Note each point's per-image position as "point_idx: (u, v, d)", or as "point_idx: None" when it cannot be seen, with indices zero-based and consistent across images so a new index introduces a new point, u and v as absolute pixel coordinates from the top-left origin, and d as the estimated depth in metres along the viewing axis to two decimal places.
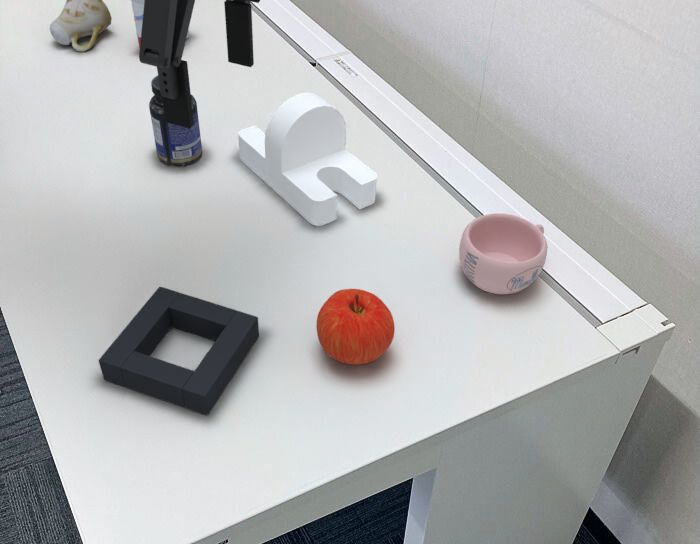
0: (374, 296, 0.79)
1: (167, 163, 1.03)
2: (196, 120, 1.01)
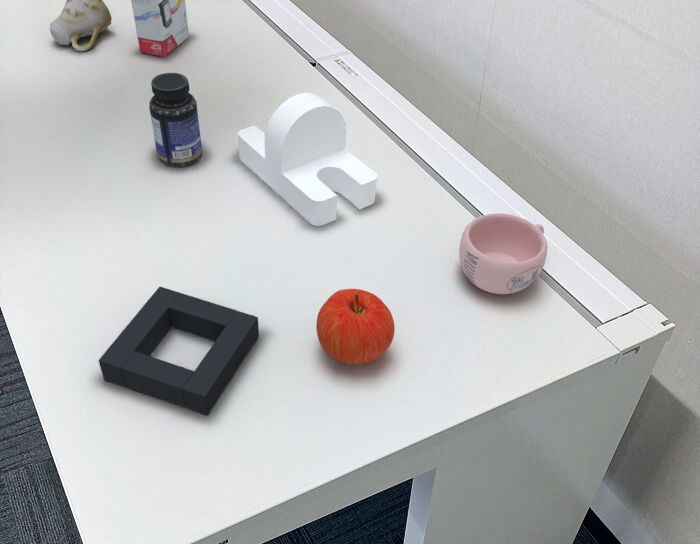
0: (374, 296, 0.79)
1: (167, 163, 1.03)
2: (196, 120, 1.01)
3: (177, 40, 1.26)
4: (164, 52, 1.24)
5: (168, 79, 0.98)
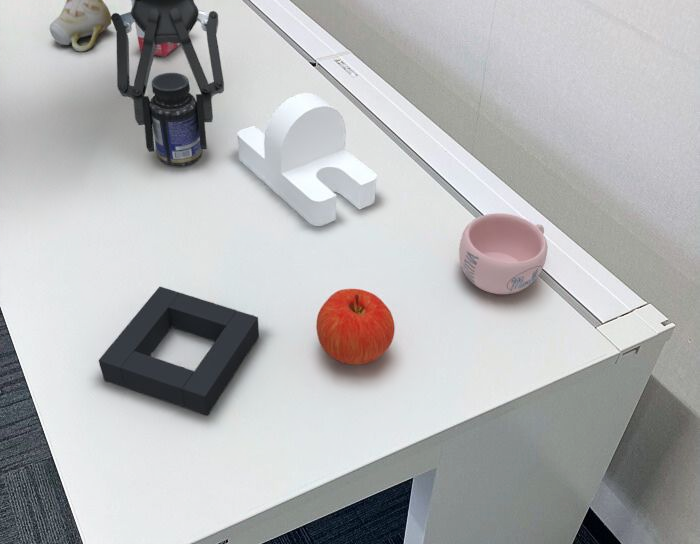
0: (374, 296, 0.80)
1: (167, 163, 1.03)
2: (196, 120, 1.01)
3: None
4: (164, 52, 1.24)
5: (168, 79, 0.98)
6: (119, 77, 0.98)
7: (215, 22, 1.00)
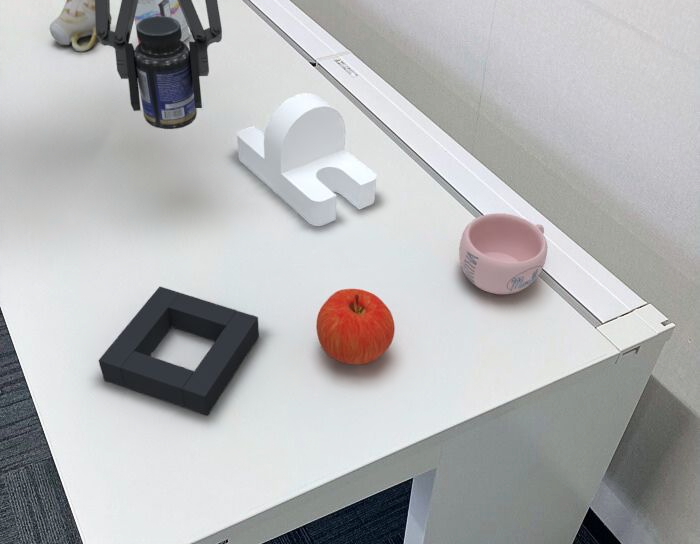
0: (374, 296, 0.79)
1: (156, 125, 0.88)
2: (189, 73, 0.86)
3: None
4: None
5: (156, 23, 0.83)
6: (98, 21, 0.83)
7: None
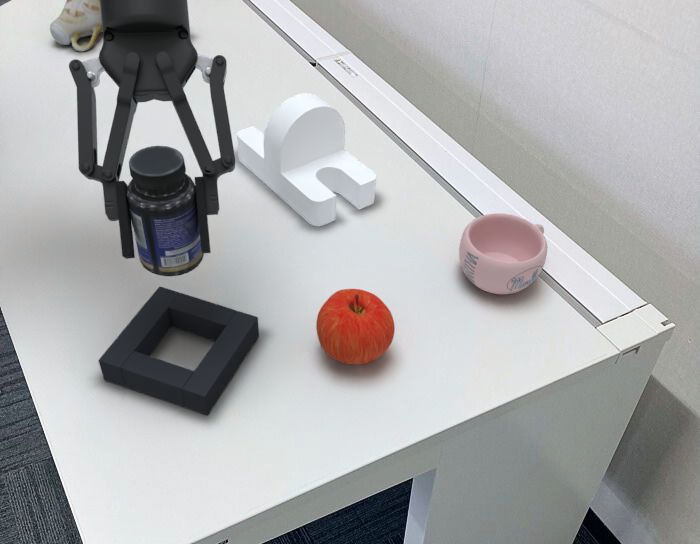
0: (374, 296, 0.79)
1: (153, 272, 0.72)
2: (195, 213, 0.69)
3: None
4: None
5: (154, 157, 0.66)
6: (82, 154, 0.67)
7: (222, 71, 0.68)
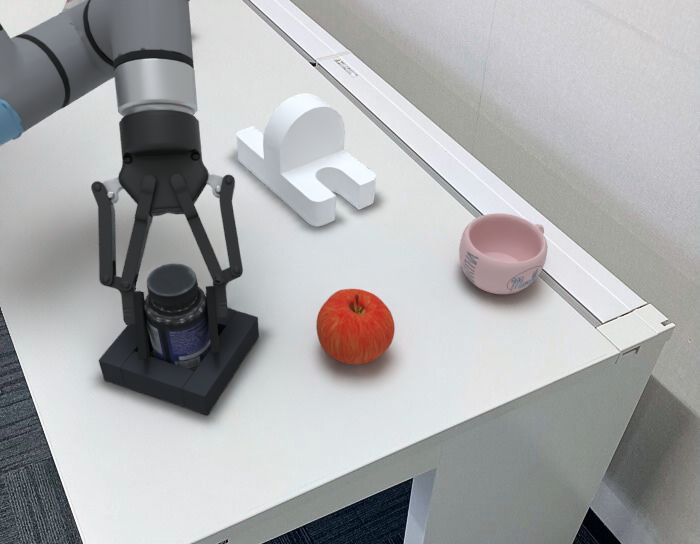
0: (374, 296, 0.79)
1: None
2: (206, 322, 0.76)
3: None
4: None
5: (169, 275, 0.73)
6: (102, 267, 0.73)
7: (231, 189, 0.74)
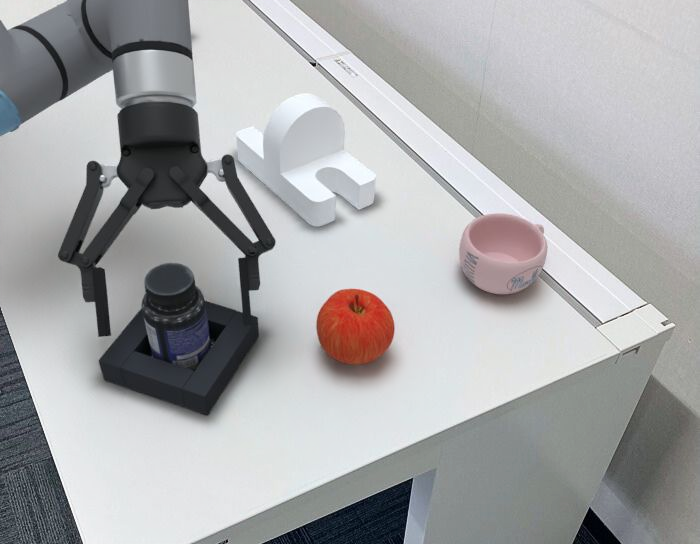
0: (374, 296, 0.79)
1: None
2: (204, 321, 0.76)
3: None
4: None
5: (167, 275, 0.73)
6: (66, 243, 0.72)
7: (233, 167, 0.74)
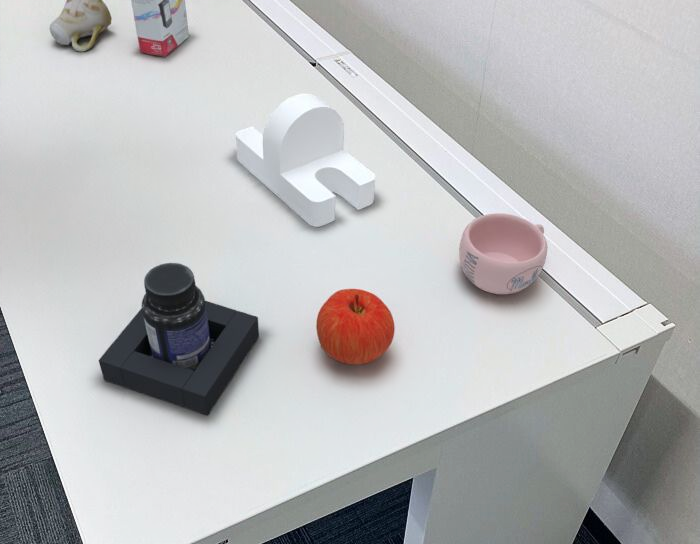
0: (374, 296, 0.80)
1: None
2: (204, 321, 0.76)
3: (177, 40, 1.26)
4: (164, 52, 1.24)
5: (167, 275, 0.73)
6: None
7: None
